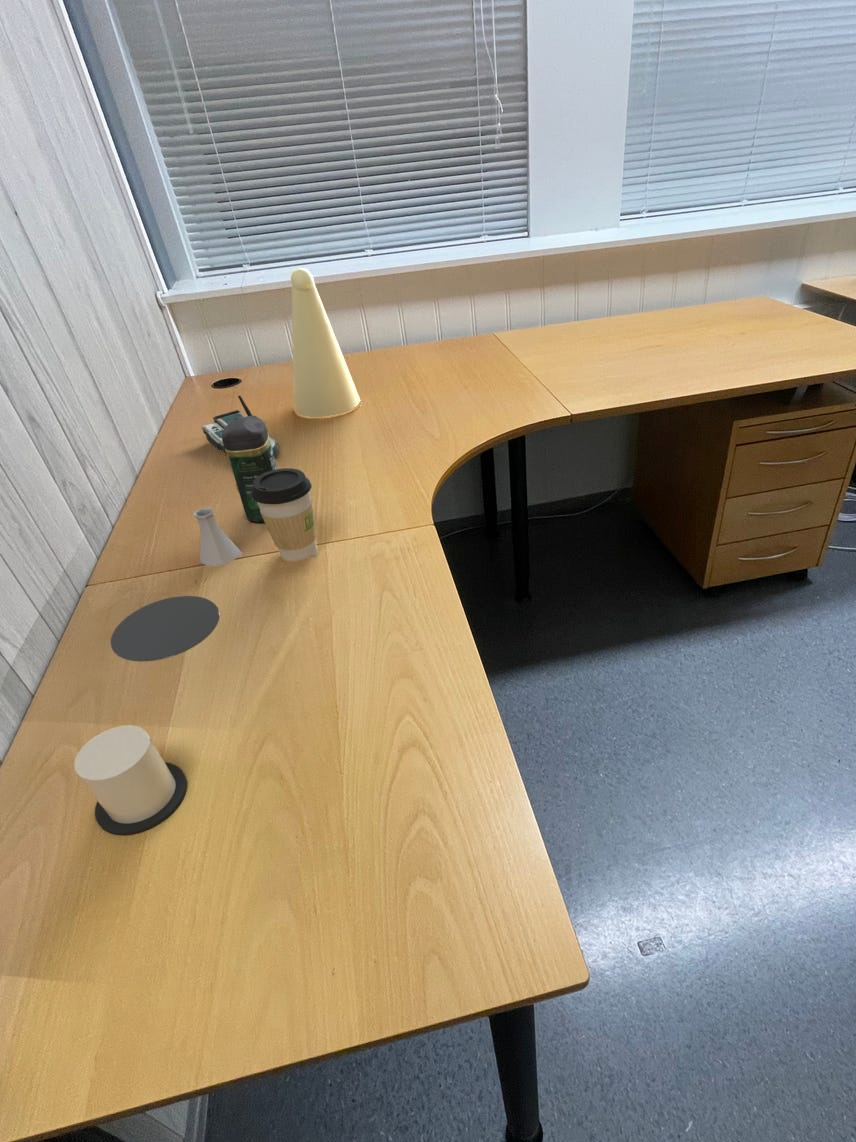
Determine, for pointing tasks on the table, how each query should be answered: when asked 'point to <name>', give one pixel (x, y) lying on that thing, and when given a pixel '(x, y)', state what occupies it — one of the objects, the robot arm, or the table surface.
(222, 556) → the flask
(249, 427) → the coffee jar
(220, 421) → the communication device
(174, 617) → the plate
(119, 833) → the coaster
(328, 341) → the cone light
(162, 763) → the white cylinder
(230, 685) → the table surface
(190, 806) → the table surface
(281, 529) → the coffee cup
